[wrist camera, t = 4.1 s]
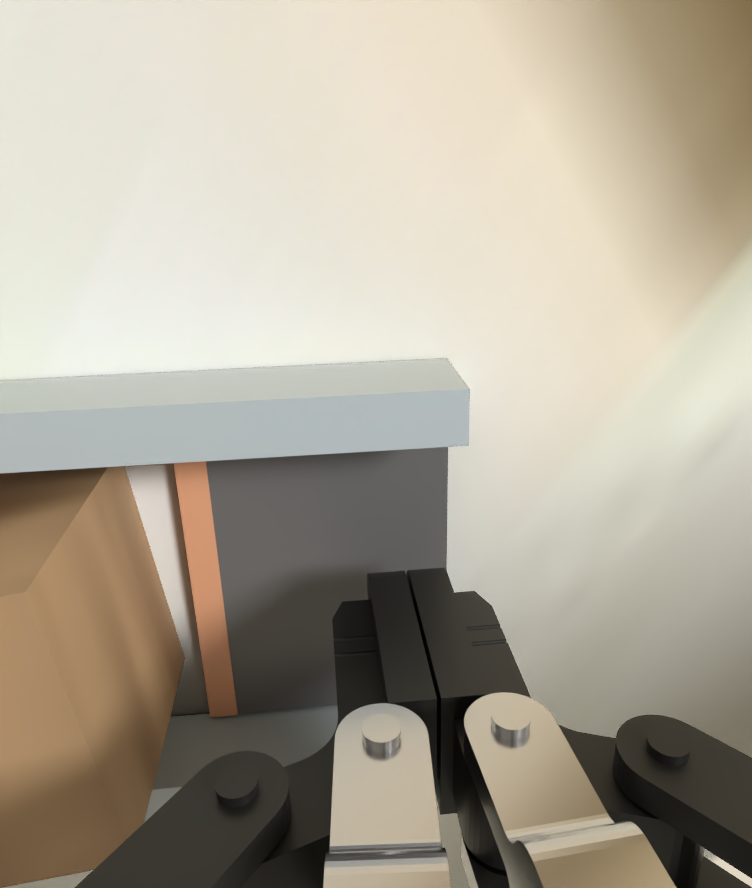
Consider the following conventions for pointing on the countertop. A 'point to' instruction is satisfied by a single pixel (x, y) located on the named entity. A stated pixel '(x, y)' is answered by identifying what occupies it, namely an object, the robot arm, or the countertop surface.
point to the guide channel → (265, 516)
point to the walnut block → (78, 670)
